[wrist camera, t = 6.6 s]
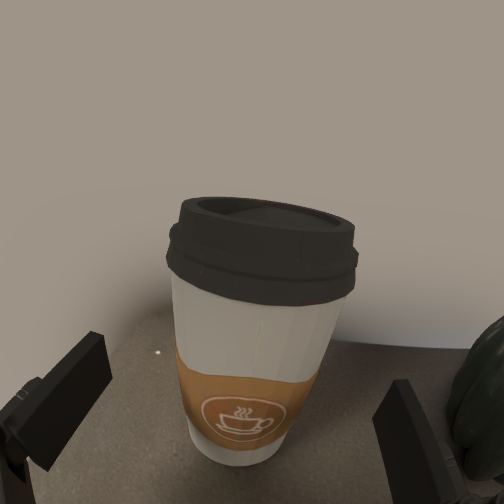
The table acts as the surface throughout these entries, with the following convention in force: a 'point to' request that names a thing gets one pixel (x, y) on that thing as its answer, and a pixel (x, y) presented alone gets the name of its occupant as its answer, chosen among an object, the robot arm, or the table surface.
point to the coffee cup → (253, 316)
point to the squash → (481, 406)
